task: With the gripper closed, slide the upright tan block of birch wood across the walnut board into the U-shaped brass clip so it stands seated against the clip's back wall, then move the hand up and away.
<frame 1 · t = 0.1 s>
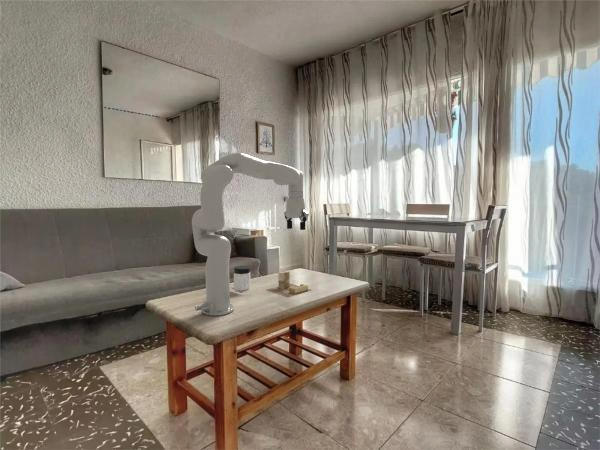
hand: (296, 229, 158), 31 cm above the table, tool pointing down, fingers open, 9 cm apart
jar: (242, 290, 159), on the table
board: (289, 292, 155), on the table
tan block: (284, 287, 160), point 1 cm above the table, touching board
clip: (297, 291, 153), resting on board
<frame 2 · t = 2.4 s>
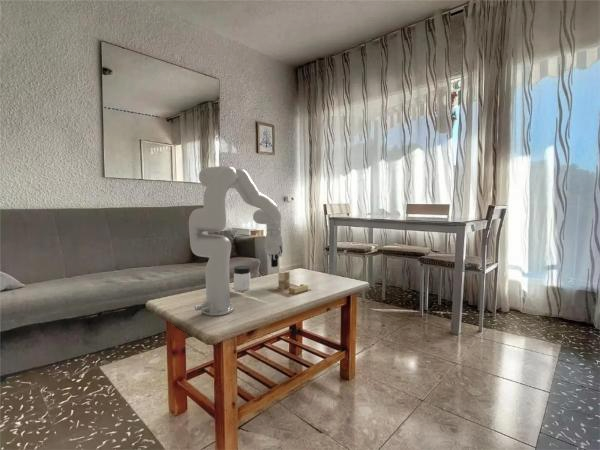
hand: (274, 266, 165), 11 cm above the table, tool pointing down, fingers closed
nothing on the table moved.
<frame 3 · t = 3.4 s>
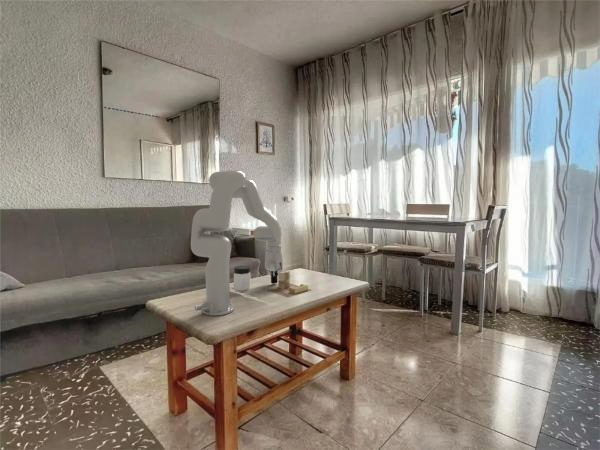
hand: (274, 283, 166), 2 cm above the table, tool pointing down, fingers closed
nothing on the table moved.
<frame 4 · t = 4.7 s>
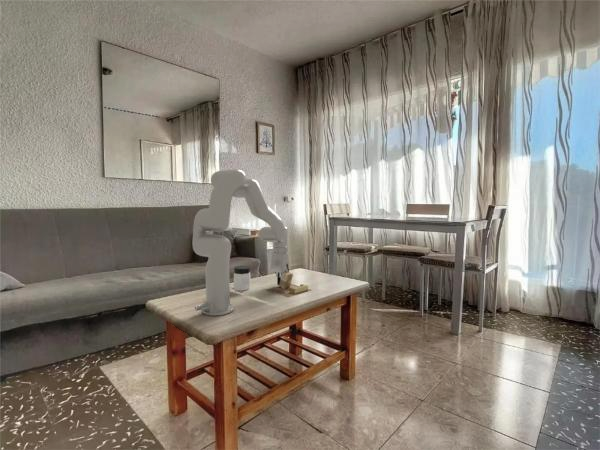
hand: (280, 284, 162), 2 cm above the table, tool pointing down, fingers closed
tan block: (284, 286, 160), point 2 cm above the table, tilted 19°, touching board, gripper
everything else where it was.
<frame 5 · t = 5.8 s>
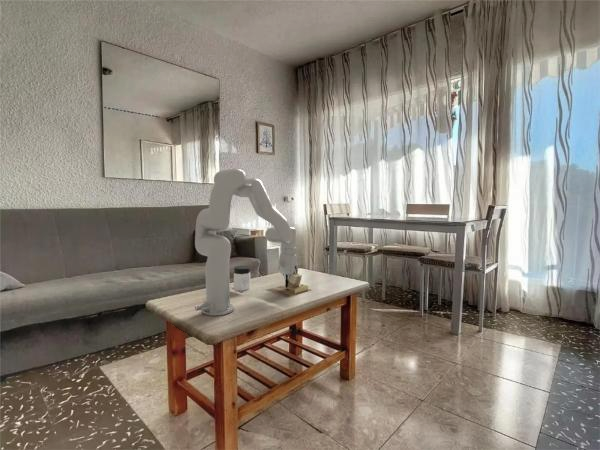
hand: (288, 287, 157), 2 cm above the table, tool pointing down, fingers closed
tan block: (292, 288, 155), point 2 cm above the table, tilted 19°, touching board, gripper
everything else where it was.
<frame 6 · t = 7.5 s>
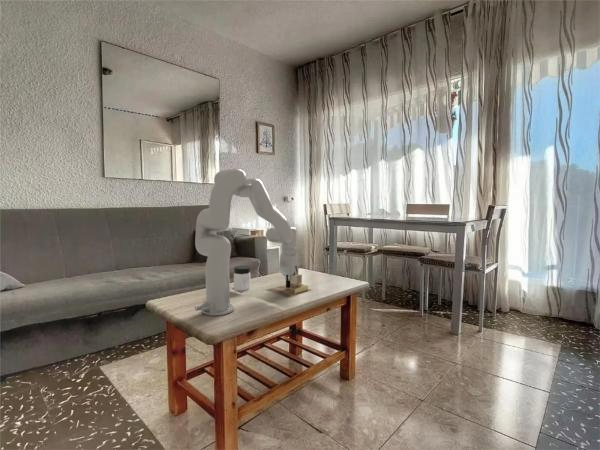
hand: (289, 287, 157), 2 cm above the table, tool pointing down, fingers closed
tan block: (295, 290, 154), point 1 cm above the table, touching board
everything else where it was.
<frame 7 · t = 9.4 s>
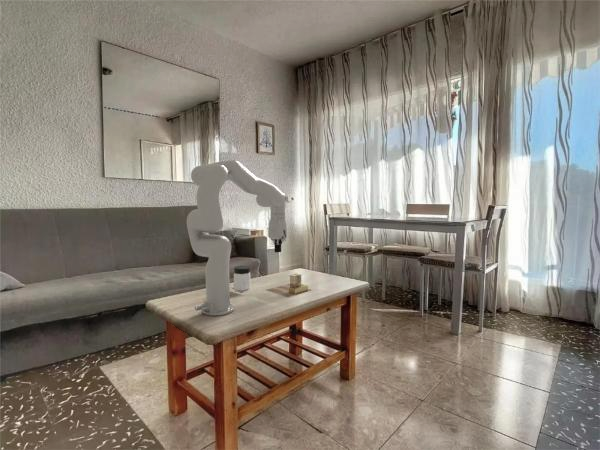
hand: (277, 251, 161), 19 cm above the table, tool pointing down, fingers closed
nothing on the table moved.
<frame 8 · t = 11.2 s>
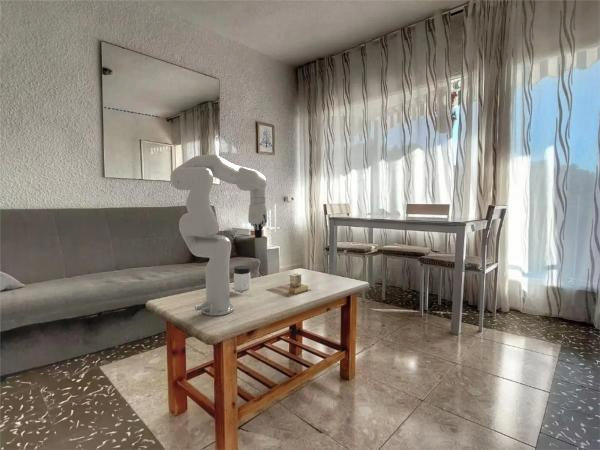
hand: (258, 237, 157), 27 cm above the table, tool pointing down, fingers closed
nothing on the table moved.
at the end: tan block 0.9 cm off-centre on the clip, point 0.0 cm above the clip's base; tan block tilted 0°; the gripper is holding nothing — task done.
